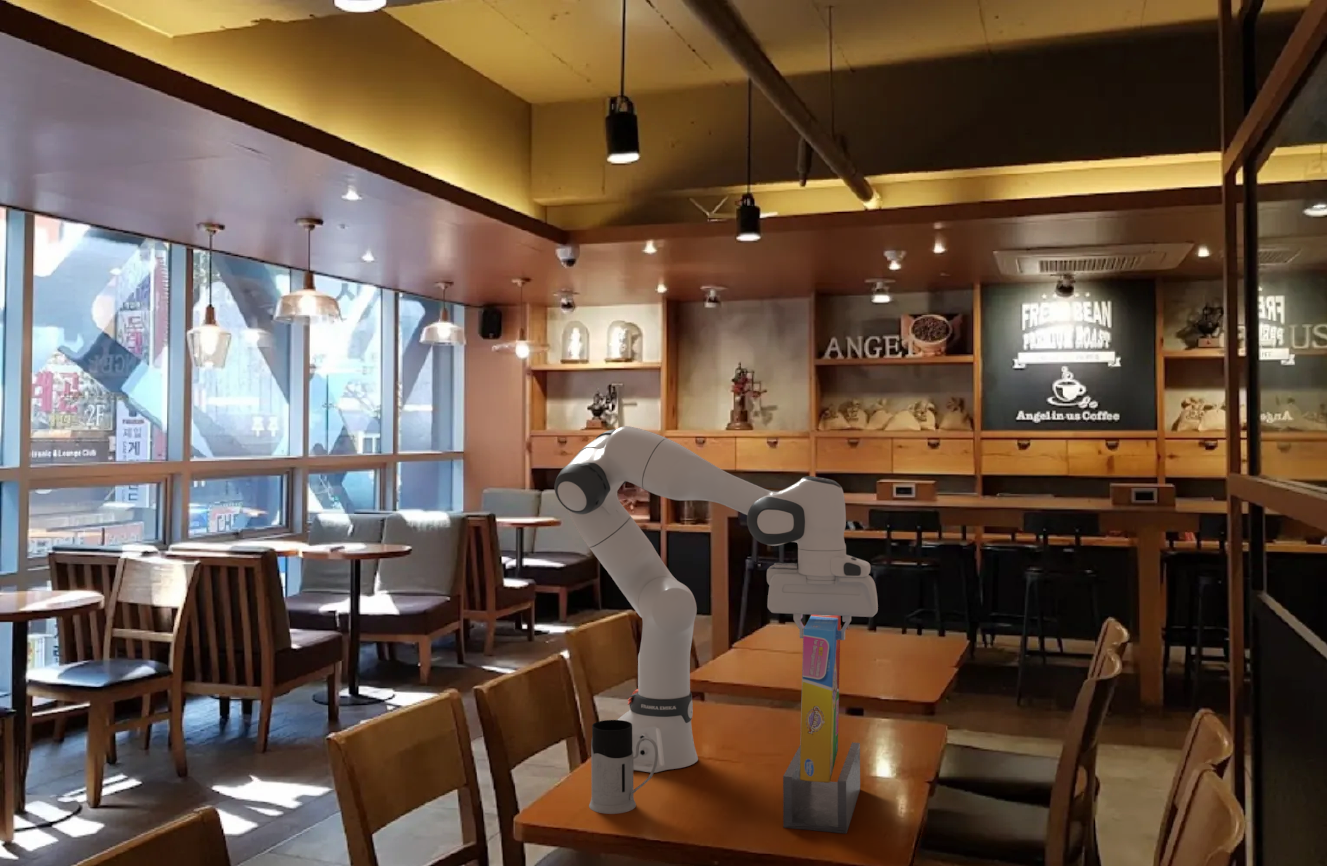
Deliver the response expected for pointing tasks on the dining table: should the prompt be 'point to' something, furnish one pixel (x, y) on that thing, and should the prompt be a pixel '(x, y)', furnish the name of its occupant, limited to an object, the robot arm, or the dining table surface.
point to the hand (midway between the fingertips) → (822, 638)
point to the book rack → (821, 797)
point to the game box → (819, 698)
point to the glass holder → (614, 766)
